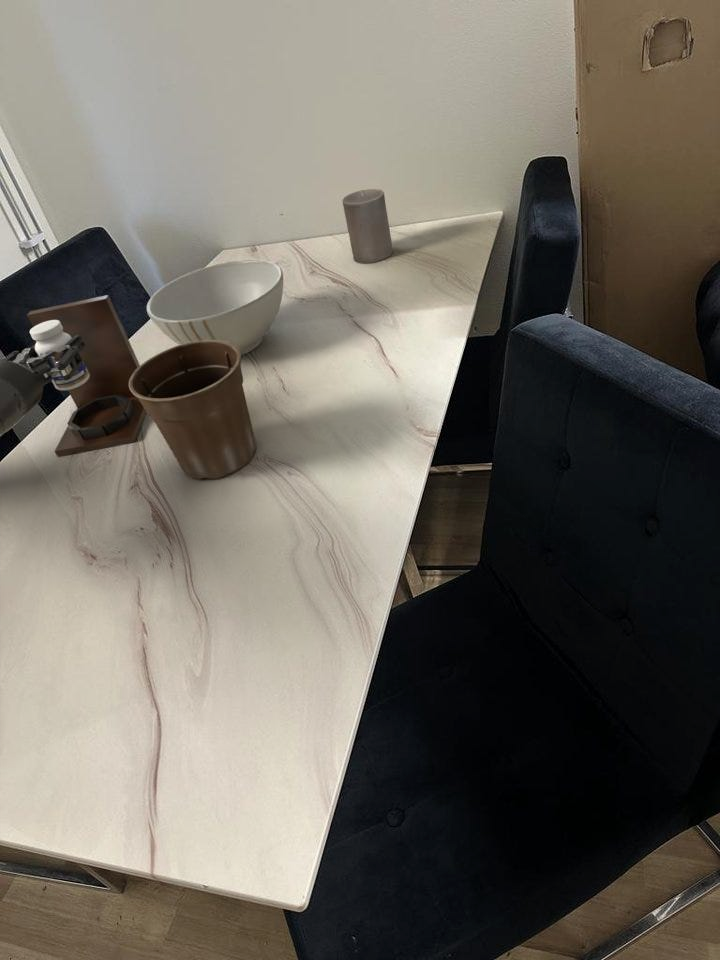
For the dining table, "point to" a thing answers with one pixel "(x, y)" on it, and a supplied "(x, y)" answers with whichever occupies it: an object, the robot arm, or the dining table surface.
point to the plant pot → (199, 406)
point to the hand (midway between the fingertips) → (64, 341)
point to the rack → (98, 377)
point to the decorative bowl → (220, 303)
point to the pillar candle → (368, 225)
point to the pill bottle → (53, 339)
